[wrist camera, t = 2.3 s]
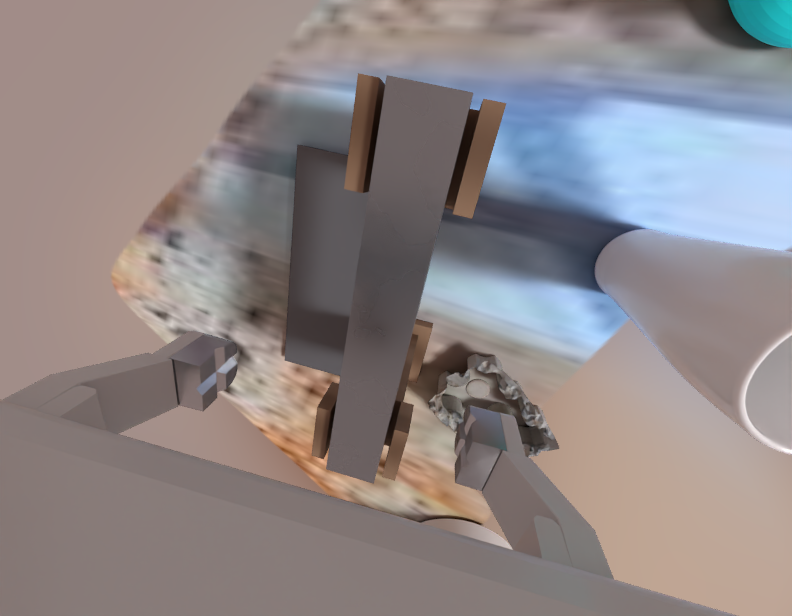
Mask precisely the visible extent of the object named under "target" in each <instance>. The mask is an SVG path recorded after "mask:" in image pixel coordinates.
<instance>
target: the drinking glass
mask: <svg viewBox="0 0 792 616" xmlns="http://www.w3.org/2000/svg"><path fill="white" fill-rule="evenodd" d="M595 278H596V281H597V283H598V285H599V287H600V288H601V289H602V291H603V292H605V293H606V294H607V295H608V296H609V297H610V298H612V299H613V300H614V301H615V302H616V304H617V305H618V306H619V307H620V308H621V309H622V310H623V311H624V312H625V314H626V315H627V316H628V317H629V318H630V319H631V320H632V321H633V322H634V324H635V325H636V326H637V327H638V328H639V329H640V330H641V331H642V333H643V334H644V335H645V336H646V337H647V338H648V340H649V341H650V342H651V343H652V344H653V345H654V346H655V348H656V349H657V350H658V351H659V352H660V353H661V354H662V356H663V357H664V358H665V359H666V360H667V361H668V362H669V363H670V364H671V365H672V367H673V368H674V369H675V370H676V371H677V372H678V373H679V374H680V375H681V376H682V377H683V378H684V379H685V380H686V381H688V382H689V383H690V384H691V385H692V386H693V387H694V388H695V389H696V390H697V391H698V392H699V393H700V394H701V395H703V396H704V397H705V398H706V399H707V400H708V401H709V402H711V403H712V404H713V405H714V406H716V408H718V409H719V410H720V411H721V412H723V413H724V414H725V415H726V416H727V417H729V418H730V419H731V420H732V421H733V422H735V423H736V424H737V425H738V426H740V427H741V428H742V429H743V430H745V431H746V432H747V433H748V434H749V435H750V436H752V437H753V438H754V439H756V440H757V441H759V442H760V443H762V444H764V445H766V446H768V447H770V448H772V449H774V450H777V451H780V452H783V453H787V454H790V455H792V252H787V251H780V250H774V249H767V248H760V247H753V246H746V245H739V244H732V243H725V242H719V241H712V240H705V239H698V238H692V237H685V236H679V235H673V234H668V233H665V232H661V231H657V230H652V229H638V230H633V231H629V232H626V233H624V234H622V235H620V236H618V237H616V238H614V239H613V240H612V241H610V242H609V243H608V244H607V245H606V246H605V247H604V248H603V250H602V251H601V252H600V254H599V256H598V258H597V261H596V264H595Z"/></svg>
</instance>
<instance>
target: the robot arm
mask: <svg viewBox="0 0 792 616" xmlns="http://www.w3.org/2000/svg"><path fill="white" fill-rule="evenodd" d="M236 353H237V346H236V344H235V343H234V342H233V341H229V340H226V339H222V338H219V337H215V336H212V335H209V334H205V333H201V332H198V331H188V332H187V333H185V334H184V335H182V336H180V337H179V338H177V339H176V340H174V341H172V342H171V343H169V344H168V345H166V346H164V347H163V348H161V349H159V350H158V351H156V352H155V353H153V354H150V353H145V354H141V355H136V356H132V357H127V358H123V359H119V360H114V361H109V362H105V363H100V364H96V365H92V366H87V367H83V368H78V369H74V370H69V371H65V372H60V373H56V374H51V375H49V376H47V377H45V378H43V379H41V380H40V381H37V382H35V383H34V384H32V385H30V386H28V387H26V388H24V389H22V390H20V391H18V392H16V393H14V394H12V395H11V396H9V397H7V398H5V399H3V400H0V616H736V615H733V614H730V613H727V612H723V611H720V610H716V609H713V608H709V607H706V606H702V605H699V604H695V603H692V602H689V601H686V600H682V599H678V598H675V597H672V596H668V595H665V594H662V593H658V592H655V591H651V590H648V589H644V588H641V587H638V586H634V585H631V584H628V583H624V582H621V581H617V580H614V578H613V575H612V573H611V570H610V568H609V565H608V563H607V560H606V558H605V555H604V553H603V550H602V547H601V545H600V542H599V540H598V537H597V535H596V532H595V530H594V529H593V528H592V527H591V526H590V524H589V523H588V522H587V521H586V520H585V519H584V518H583V517H582V515H581V514H580V513H579V512H578V511H577V510H576V509H575V508H574V507H573V506H572V504H571V503H570V502H569V501H568V500H567V499H566V498H565V496H564V495H563V494H562V493H561V492H560V491H559V490H558V489H557V487H556V486H555V485H554V484H553V483H552V482H551V481H550V480H549V478H548V477H547V476H546V475H545V474H544V473H543V472H542V471H541V470H540V469H539V467H538V466H537V465H536V464H535V463H534V462H533V460H532V459H531V458H529V457H526V456H525V452H524V449H523V445H522V441H521V437H520V433H519V430H518V426H517V422H516V418H515V417H514V416H512V415H508V414H503V413H499V412H498V413H497V412H494V411H490V410H486V409H482V408H479V407H475V406H471V405H468V406H467V407H466V409H465V412H464V421H463V422H462V423H460V424H459V427H458V430H457V434H456V438H455V454H456V455H457V457H458V458H457V460H456V463H455V483H457V484H460V485H463V486H467V487H470V488H473V489H476V490H480V491H482V494H483V496H484V498H485V500H486V501H487V503H488V505H489V507H490V509H491V510H492V512H493V514H494V516H495V518H496V520H497V521H498V523H499V525H500V527H501V528H502V531H503V532H504V534H505V536H506V538H507V540H508V542H509V543H510V545H511V546H510V545H509V544H508V543H507V542H506V541H505V540H504V539H503V538H502V537H501V536H499V535H498V534H497V533H495V532H493V531H492V530H490V529H488V528H485V527H483V526H481V525H478V524H475V523H472V522H468V521H464V520H457V519H433V520H428V521H424V522H421V523H420V522H416V521H413V520H409V519H406V518H403V517H399V516H396V515H392V514H389V513H385V512H382V511H379V510H375V509H372V508H368V507H365V506H362V505H358V504H355V503H351V502H348V501H345V500H341V499H338V498H334V497H331V496H328V495H324V494H321V493H317V492H314V491H311V490H307V489H304V488H300V487H297V486H294V485H290V484H286V483H283V482H280V481H276V480H273V479H270V478H266V477H263V476H259V475H256V474H253V473H249V472H246V471H242V470H239V469H236V468H232V467H229V466H225V465H221V464H218V463H215V462H212V461H208V460H205V459H201V458H198V457H194V456H191V455H188V454H184V453H180V452H178V451H174V450H171V449H167V448H164V447H160V446H157V445H153V444H150V443H147V442H143V441H140V440H136V439H133V438H130V437H126V436H123V435H120V434H119V433H121V432H123V431H125V430H127V429H129V428H132V427H134V426H136V425H138V424H141V423H143V422H145V421H147V420H149V419H151V418H154V417H156V416H158V415H160V414H162V413H165V412H167V411H169V410H171V409H174V408H176V407H178V405H180V406H184V407H188V408H192V409H196V410H200V411H204V410H205V409H206V408H207V407H208V406H209V405H210V404H211V403H212V402H213V401H214V400H215V399H216V398H217V392H219V391H222V390H225V389H227V387H228V386H229V385H230V384H231V383H232V382H233V380H234V378H235V376H236V372H237V362H236V360H235V359H234V357H233V356H234V355H235V354H236ZM511 547H512V548H511Z"/></svg>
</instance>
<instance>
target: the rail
mask: <svg viewBox="0 0 792 616" xmlns="http://www.w3.org/2000/svg"><path fill="white" fill-rule="evenodd" d="M472 96H473V93H472V92H467V91H462V90H457V89H452V88H447V87H442V86H437V85H432V84H427V83H422V82H417V81H412V80H407V79H402V78H397V77H392V76H388V75H387V78H386V84H385V91H384V97H383V104H382V110H381V117H380V123H379V130H378V136H377V143H376V149H375V156H374V162H373V168H372V175H371V181H370V188H369V194H368V201H367V207H366V214H365V220H364V227H363V233H362V240H361V246H360V253H359V259H358V266H357V272H356V279H355V285H354V292H353V298H352V305H351V311H350V318H349V324H348V331H347V337H346V344H345V350H344V357H343V363H342V369H341V376H340V382H339V389H338V395H337V402H336V408H335V415H334V421H333V428H332V434H331V441H330V447H329V454H328V460H327V467H326V469H327V470H331V471H334V472H337V473H341V474H344V475H347V476H350V477H354V478H357V479H360V480H364V481H367V482H370V483H373V484H374V480H375V476H376V473H377V469H378V465H379V461H380V457H381V454H382V450H383V446H384V442H385V438H386V434H387V431H388V427H389V423H390V419H391V415H392V411H393V407H394V403H395V399H396V395H397V391H398V388H399V384H400V380H401V376H402V372H403V368H404V364H405V360H406V356H407V352H408V348H409V345H410V341H411V337H412V333H413V329H414V325H415V321H416V317H417V313H418V309H419V305H420V301H421V298H422V294H423V290H424V286H425V282H426V278H427V274H428V270H429V266H430V262H431V258H432V255H433V251H434V247H435V243H436V239H437V235H438V231H439V227H440V223H441V219H442V215H443V212H444V208H445V204H446V200H447V196H448V192H449V188H450V184H451V180H452V176H453V172H454V168H455V165H456V161H457V157H458V153H459V149H460V145H461V141H462V137H463V133H464V129H465V125H466V122H467V118H468V114H469V110H470V105H471V101H472Z"/></svg>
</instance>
